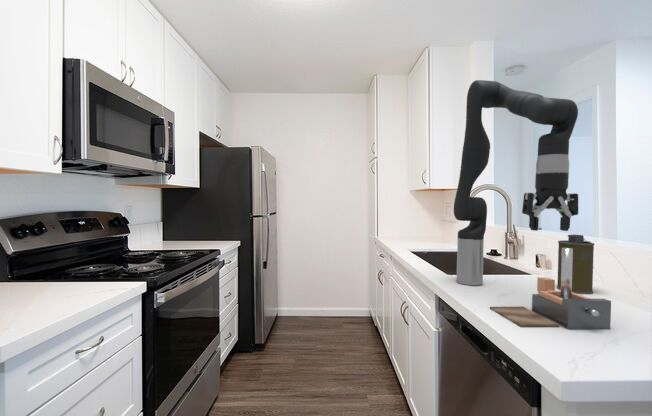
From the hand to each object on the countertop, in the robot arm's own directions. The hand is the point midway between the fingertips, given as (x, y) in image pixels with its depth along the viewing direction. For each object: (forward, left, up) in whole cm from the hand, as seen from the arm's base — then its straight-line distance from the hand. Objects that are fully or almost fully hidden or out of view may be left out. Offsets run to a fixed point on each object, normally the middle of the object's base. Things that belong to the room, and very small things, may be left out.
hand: (549, 230), depth 90 cm
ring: (+1, +3, -19) cm, 19 cm away
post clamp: (+5, +3, -24) cm, 24 cm away
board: (+2, -9, -24) cm, 25 cm away
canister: (-25, +29, -24) cm, 45 cm away
